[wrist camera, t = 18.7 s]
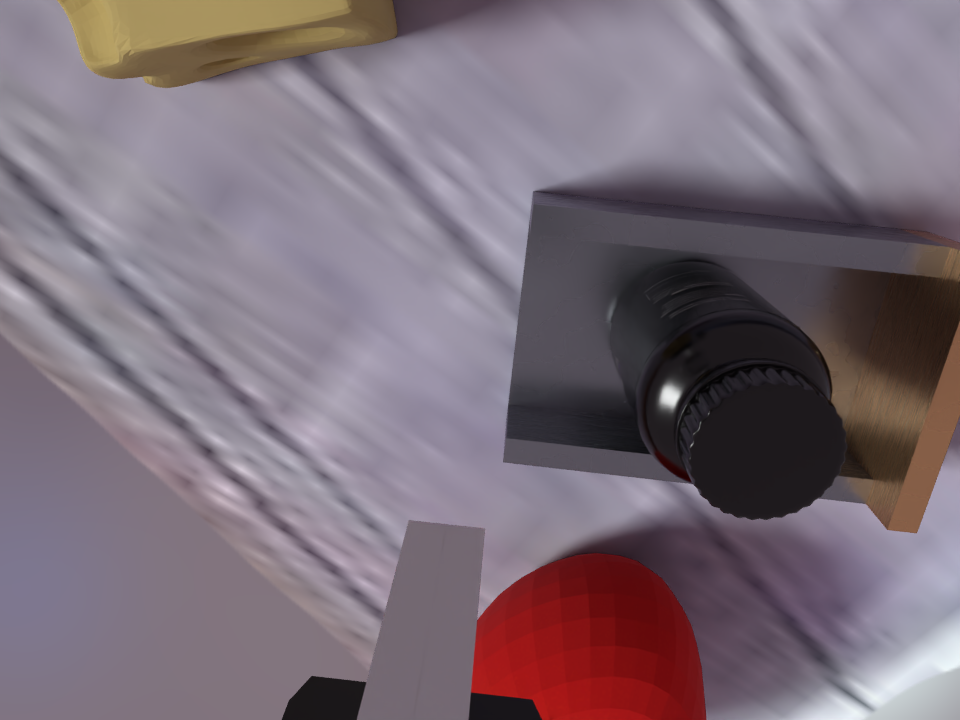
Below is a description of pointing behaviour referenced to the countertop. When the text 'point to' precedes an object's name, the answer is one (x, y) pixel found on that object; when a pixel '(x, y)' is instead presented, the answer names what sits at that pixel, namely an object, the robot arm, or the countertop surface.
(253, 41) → the cheese
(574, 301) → the guide channel
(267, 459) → the countertop surface
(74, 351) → the countertop surface
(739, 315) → the supplement bottle
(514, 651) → the tomato
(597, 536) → the countertop surface
